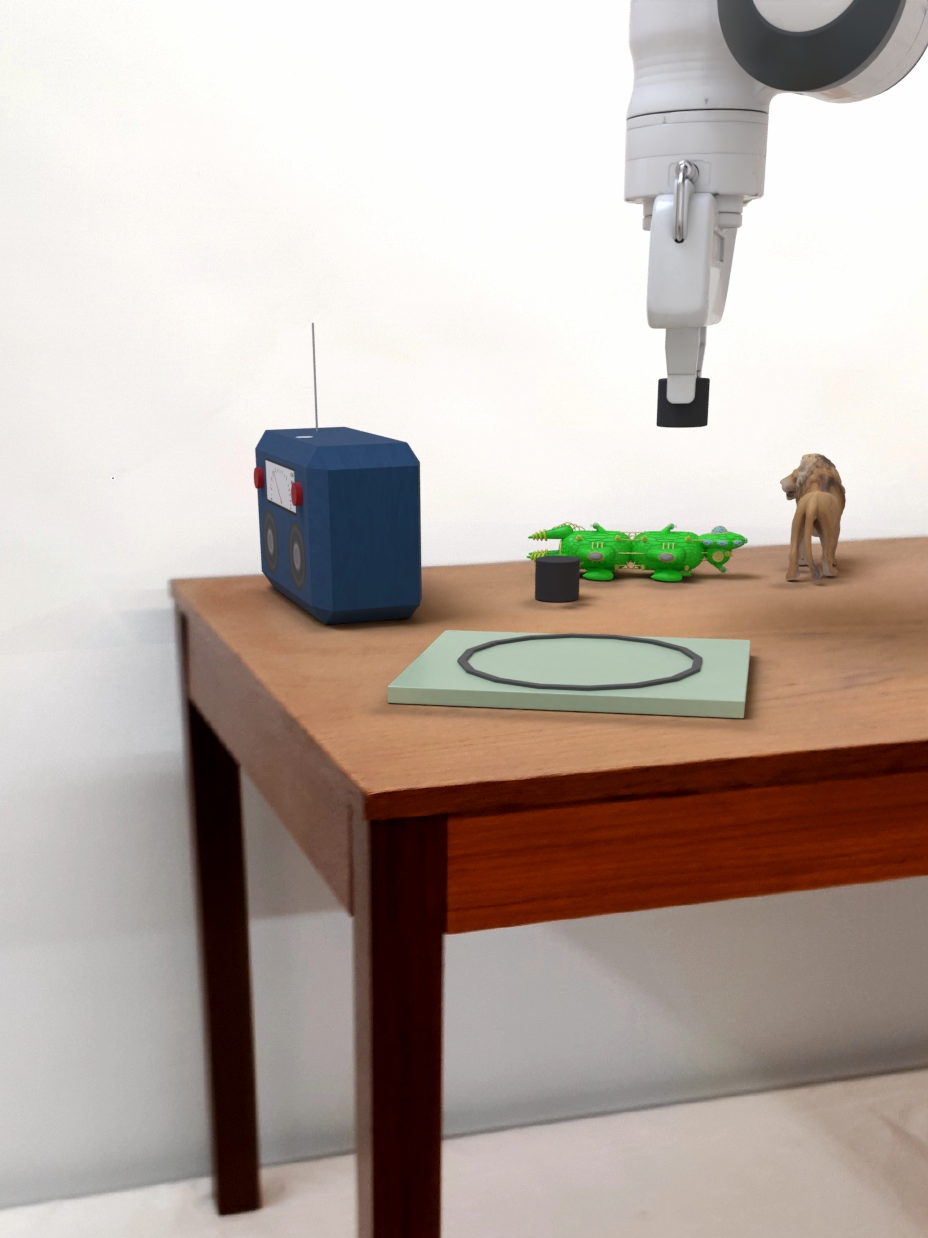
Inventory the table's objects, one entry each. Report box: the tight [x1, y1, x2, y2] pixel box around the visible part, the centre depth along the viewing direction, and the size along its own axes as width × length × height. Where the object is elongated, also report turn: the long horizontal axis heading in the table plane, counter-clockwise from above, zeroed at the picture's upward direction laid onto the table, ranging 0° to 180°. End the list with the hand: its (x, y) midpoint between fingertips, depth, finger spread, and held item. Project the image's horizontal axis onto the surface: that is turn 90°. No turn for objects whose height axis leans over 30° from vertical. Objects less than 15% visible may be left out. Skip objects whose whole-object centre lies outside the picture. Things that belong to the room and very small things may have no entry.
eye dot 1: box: [534, 555, 581, 603], centre depth 113 cm, size 3×3×3 cm
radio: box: [253, 322, 423, 625], centre depth 110 cm, size 21×9×20 cm, turn 18°
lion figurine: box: [779, 452, 847, 580], centre depth 122 cm, size 15×5×9 cm, turn 171°
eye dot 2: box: [655, 377, 711, 429], centre depth 99 cm, size 3×3×3 cm
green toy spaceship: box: [526, 521, 749, 582], centre depth 122 cm, size 7×18×4 cm, turn 80°
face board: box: [387, 629, 752, 719], centre depth 89 cm, size 20×16×1 cm
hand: (683, 401), depth 99 cm, fingers closed on eye dot 2, 3 cm apart
